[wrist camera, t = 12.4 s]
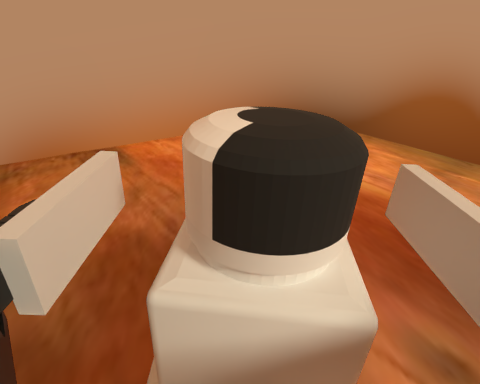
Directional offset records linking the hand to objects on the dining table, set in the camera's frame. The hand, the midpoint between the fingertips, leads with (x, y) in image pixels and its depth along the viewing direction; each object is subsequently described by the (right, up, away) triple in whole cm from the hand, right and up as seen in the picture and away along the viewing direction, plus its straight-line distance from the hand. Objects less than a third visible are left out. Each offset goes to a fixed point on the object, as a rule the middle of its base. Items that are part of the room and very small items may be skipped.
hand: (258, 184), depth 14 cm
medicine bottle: (0, -9, +1) cm, 9 cm away
